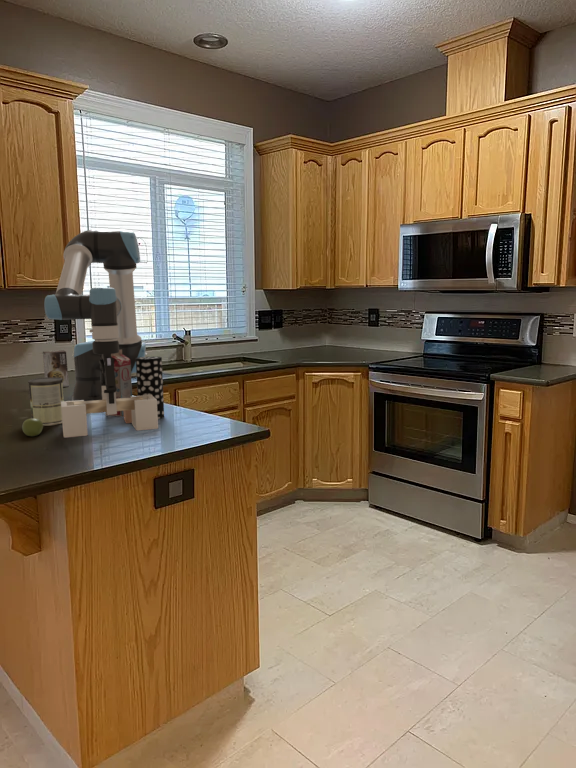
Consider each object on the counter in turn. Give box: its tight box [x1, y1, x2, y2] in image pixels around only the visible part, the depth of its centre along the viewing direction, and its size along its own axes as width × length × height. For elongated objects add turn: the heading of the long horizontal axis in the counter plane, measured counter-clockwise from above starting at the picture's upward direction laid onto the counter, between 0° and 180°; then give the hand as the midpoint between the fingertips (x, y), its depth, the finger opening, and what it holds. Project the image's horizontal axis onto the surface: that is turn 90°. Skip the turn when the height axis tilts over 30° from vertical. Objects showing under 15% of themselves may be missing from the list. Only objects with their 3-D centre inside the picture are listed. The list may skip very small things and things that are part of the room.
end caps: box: [61, 395, 159, 438], centre depth 177 cm, size 27×10×9 cm, turn 113°
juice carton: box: [104, 350, 133, 417], centre depth 200 cm, size 7×7×22 cm
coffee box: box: [42, 349, 70, 388], centre depth 263 cm, size 9×6×16 cm
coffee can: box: [27, 377, 65, 427], centre depth 188 cm, size 10×10×14 cm
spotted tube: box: [136, 355, 165, 420], centre depth 194 cm, size 8×8×20 cm
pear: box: [21, 418, 44, 437], centre depth 174 cm, size 6×5×10 cm
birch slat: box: [73, 397, 144, 415], centre depth 177 cm, size 20×4×3 cm, turn 113°
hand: (109, 410), depth 177 cm, fingers open, 13 cm apart
